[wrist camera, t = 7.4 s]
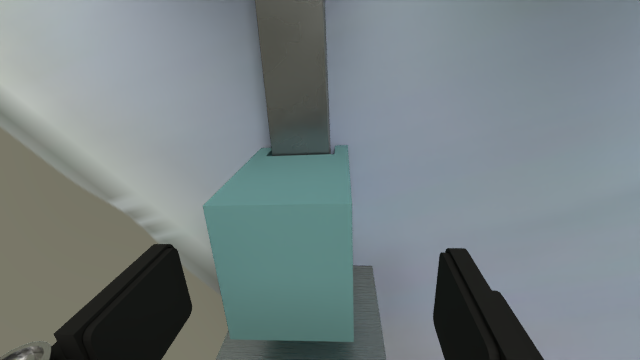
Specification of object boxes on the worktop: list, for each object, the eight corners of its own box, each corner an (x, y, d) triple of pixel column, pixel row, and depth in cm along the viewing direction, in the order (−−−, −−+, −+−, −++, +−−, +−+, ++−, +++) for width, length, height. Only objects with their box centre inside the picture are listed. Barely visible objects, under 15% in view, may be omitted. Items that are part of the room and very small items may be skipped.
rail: (317, -182, 12) (312, -226, 11) (335, 266, 20) (334, 285, 18) (247, -173, 13) (231, -215, 11) (291, 265, 21) (286, 285, 19)
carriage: (347, 145, 17) (351, 203, 10) (349, 237, 19) (354, 342, 12) (261, 148, 17) (202, 206, 10) (272, 237, 19) (230, 339, 12)
